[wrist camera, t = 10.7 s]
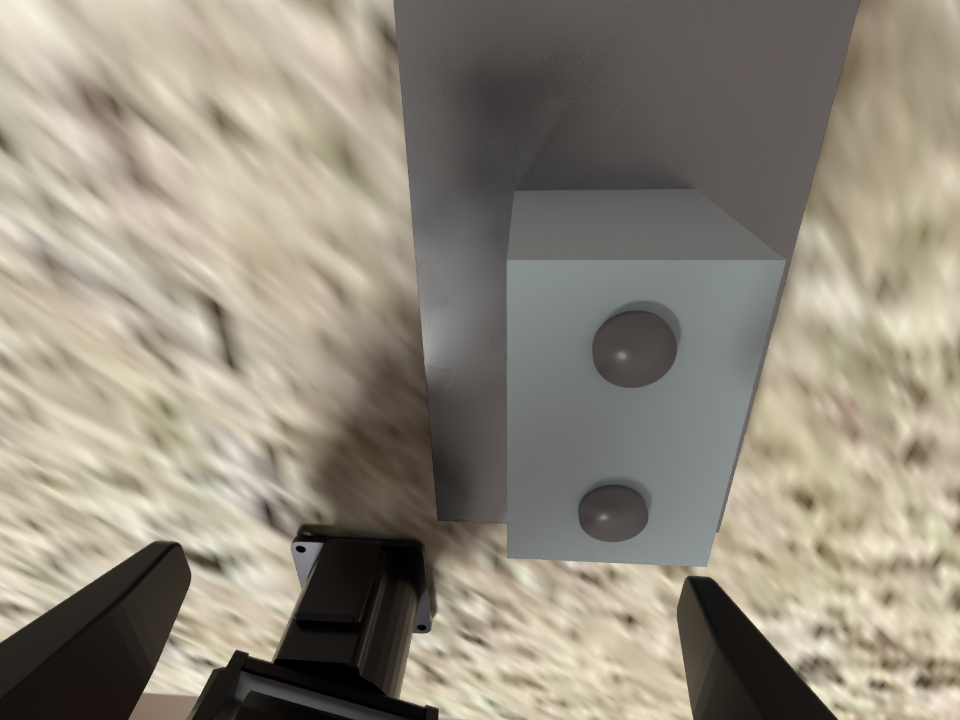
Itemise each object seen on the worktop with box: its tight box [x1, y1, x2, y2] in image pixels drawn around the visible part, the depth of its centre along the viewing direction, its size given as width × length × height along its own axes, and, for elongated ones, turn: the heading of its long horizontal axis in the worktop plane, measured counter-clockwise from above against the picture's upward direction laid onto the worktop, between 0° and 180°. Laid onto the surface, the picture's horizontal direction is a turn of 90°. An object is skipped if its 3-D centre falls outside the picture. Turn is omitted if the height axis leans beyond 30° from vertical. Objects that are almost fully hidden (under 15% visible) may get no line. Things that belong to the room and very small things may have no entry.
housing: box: [507, 189, 786, 567], centre depth 14 cm, size 5×8×6 cm, turn 1°
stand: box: [394, 0, 860, 532], centre depth 18 cm, size 18×11×2 cm, turn 1°
